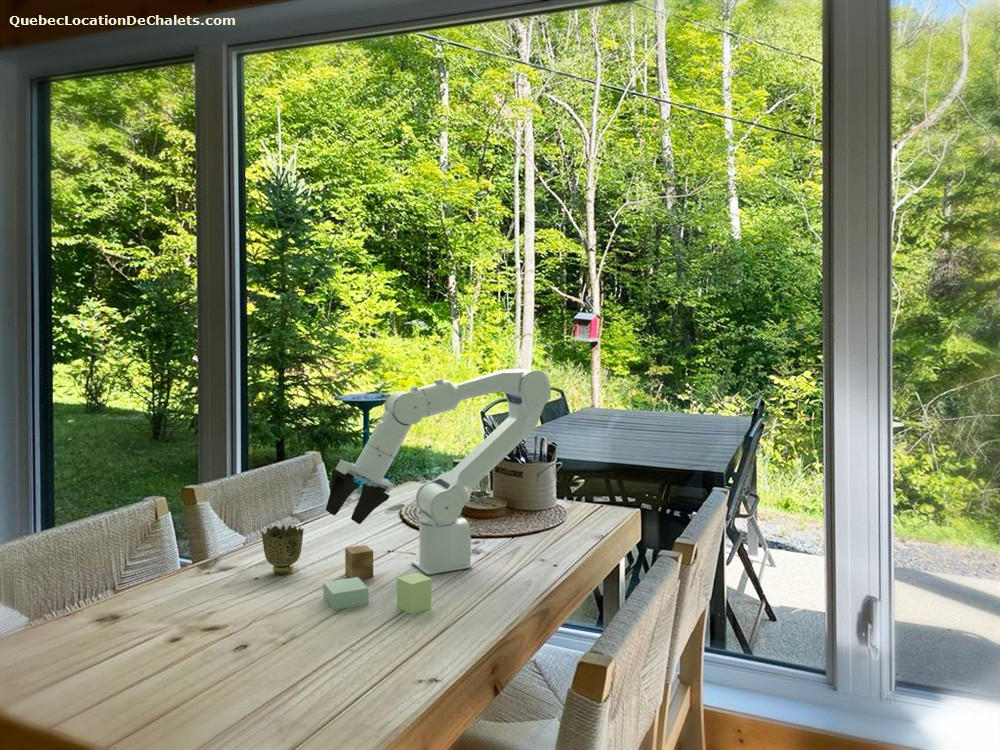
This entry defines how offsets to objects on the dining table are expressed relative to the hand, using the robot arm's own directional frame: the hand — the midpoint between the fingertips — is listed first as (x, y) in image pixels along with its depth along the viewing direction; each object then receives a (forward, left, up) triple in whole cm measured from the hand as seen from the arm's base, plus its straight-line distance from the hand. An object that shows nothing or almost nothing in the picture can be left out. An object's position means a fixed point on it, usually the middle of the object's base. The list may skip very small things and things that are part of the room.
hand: (343, 517), depth 138 cm
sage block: (-6, +19, -11) cm, 23 cm away
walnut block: (-3, 0, -11) cm, 12 cm away
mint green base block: (+3, +11, -12) cm, 16 cm away
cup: (+9, -8, -12) cm, 17 cm away
